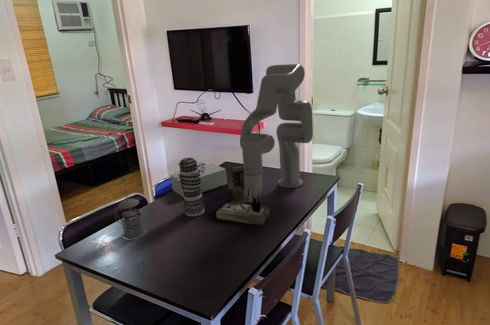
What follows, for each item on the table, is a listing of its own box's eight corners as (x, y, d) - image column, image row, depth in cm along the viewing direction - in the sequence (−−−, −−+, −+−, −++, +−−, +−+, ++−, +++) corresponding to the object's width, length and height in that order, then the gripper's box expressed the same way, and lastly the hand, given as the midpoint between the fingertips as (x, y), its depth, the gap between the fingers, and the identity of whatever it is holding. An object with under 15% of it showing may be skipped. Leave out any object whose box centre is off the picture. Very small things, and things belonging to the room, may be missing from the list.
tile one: (227, 210, 155) (226, 203, 154) (237, 211, 153) (236, 205, 152) (221, 215, 151) (221, 208, 150) (232, 216, 149) (231, 210, 148)
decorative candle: (206, 214, 154) (199, 160, 146) (185, 218, 152) (177, 164, 144) (203, 205, 163) (197, 154, 154) (183, 209, 161) (175, 158, 153)
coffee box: (250, 197, 167) (247, 165, 162) (249, 203, 161) (246, 170, 156) (231, 197, 168) (228, 166, 163) (229, 203, 162) (226, 171, 157)
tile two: (253, 213, 150) (253, 207, 149) (264, 215, 148) (264, 208, 147) (249, 219, 146) (248, 212, 145) (260, 220, 144) (259, 213, 143)
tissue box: (227, 184, 186) (225, 165, 182) (184, 198, 173) (181, 178, 169) (213, 177, 197) (211, 159, 194) (172, 190, 184) (169, 170, 181)
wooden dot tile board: (227, 208, 158) (226, 202, 157) (269, 213, 150) (269, 207, 149) (216, 218, 150) (216, 212, 149) (261, 225, 141) (261, 218, 140)
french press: (140, 240, 137) (128, 182, 129) (113, 240, 140) (100, 182, 132) (151, 228, 146) (140, 172, 138) (125, 227, 149) (113, 172, 141)
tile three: (240, 209, 152) (239, 203, 151) (250, 211, 150) (250, 204, 149) (235, 215, 148) (234, 208, 147) (246, 216, 146) (245, 209, 145)
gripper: (251, 162, 148) (254, 202, 154) (236, 175, 135) (240, 217, 141) (268, 163, 145) (271, 204, 151) (254, 176, 132) (258, 220, 138)
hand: (256, 210), depth 146 cm, fingers closed
